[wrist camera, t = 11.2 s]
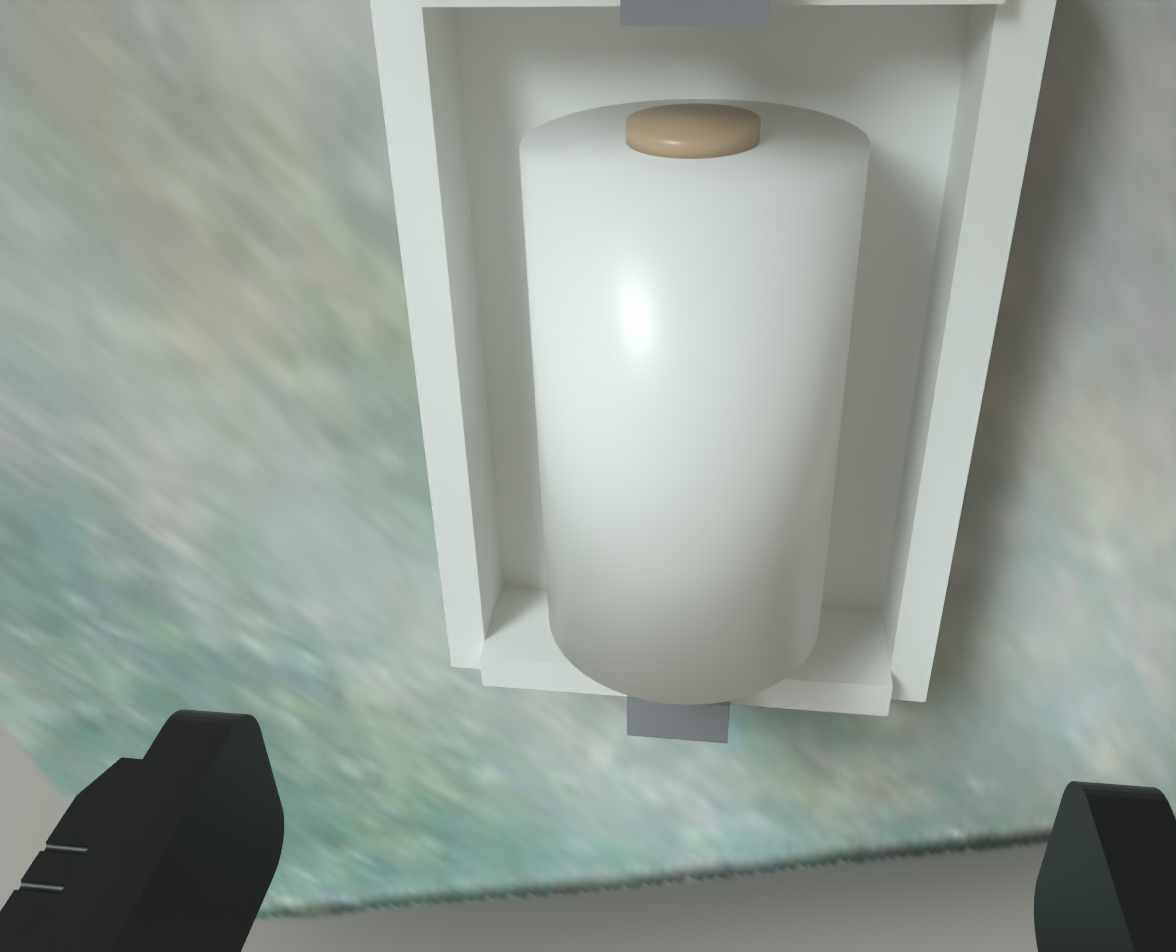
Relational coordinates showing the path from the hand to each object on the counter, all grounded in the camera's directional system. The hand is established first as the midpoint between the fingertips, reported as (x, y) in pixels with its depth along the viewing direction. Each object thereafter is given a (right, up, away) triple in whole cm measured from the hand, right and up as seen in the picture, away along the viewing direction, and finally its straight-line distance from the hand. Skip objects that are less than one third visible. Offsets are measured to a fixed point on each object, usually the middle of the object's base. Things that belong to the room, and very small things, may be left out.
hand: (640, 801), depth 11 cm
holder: (+2, +6, +10) cm, 12 cm away
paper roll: (+2, +6, +10) cm, 12 cm away
